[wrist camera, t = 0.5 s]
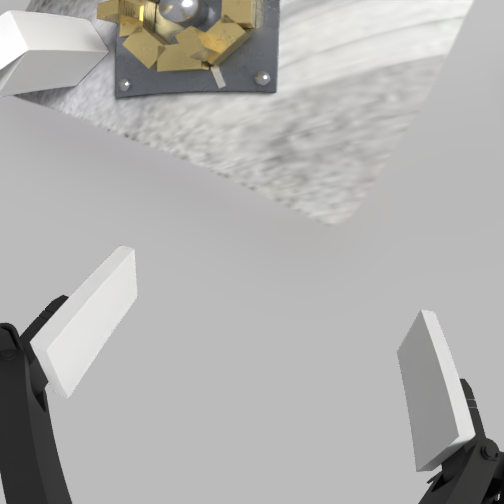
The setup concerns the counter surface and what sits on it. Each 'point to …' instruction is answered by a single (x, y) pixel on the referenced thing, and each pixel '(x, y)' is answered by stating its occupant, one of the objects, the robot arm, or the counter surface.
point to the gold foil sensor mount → (179, 35)
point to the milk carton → (45, 51)
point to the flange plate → (217, 77)
